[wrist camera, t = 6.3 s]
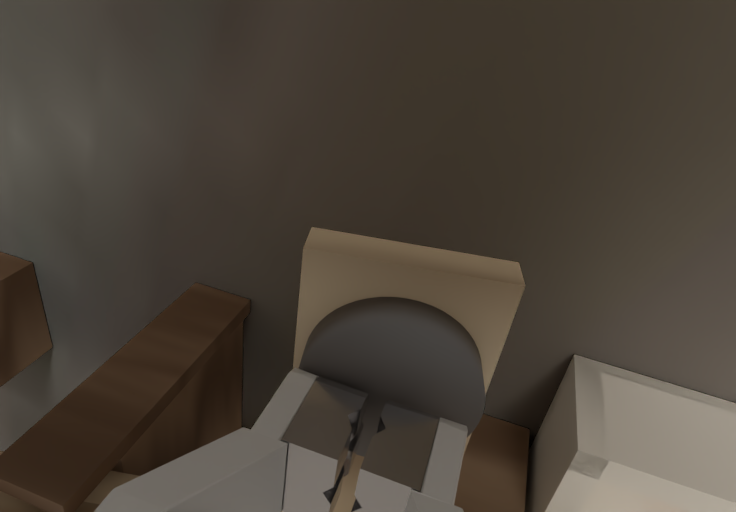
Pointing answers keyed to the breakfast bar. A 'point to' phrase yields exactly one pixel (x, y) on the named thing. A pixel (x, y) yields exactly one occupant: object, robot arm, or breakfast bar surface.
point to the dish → (631, 446)
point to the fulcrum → (175, 403)
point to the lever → (390, 333)
